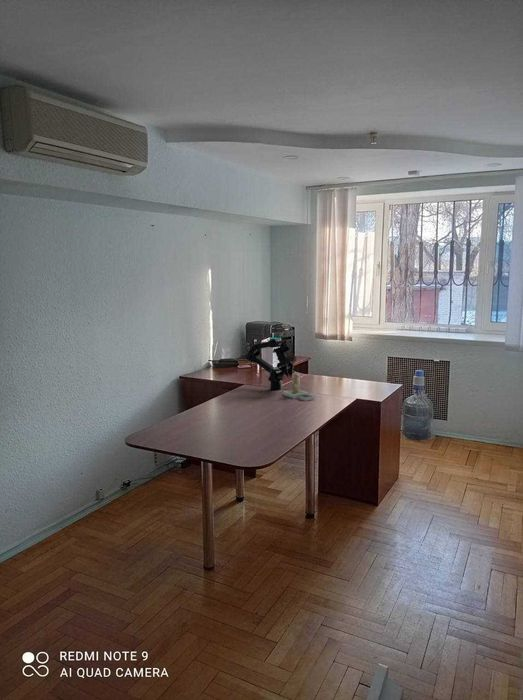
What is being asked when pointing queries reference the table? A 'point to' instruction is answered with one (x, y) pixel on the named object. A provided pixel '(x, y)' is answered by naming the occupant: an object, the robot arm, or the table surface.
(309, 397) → the dowel holder
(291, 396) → the tray
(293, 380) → the dowel
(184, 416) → the table surface
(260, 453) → the table surface
